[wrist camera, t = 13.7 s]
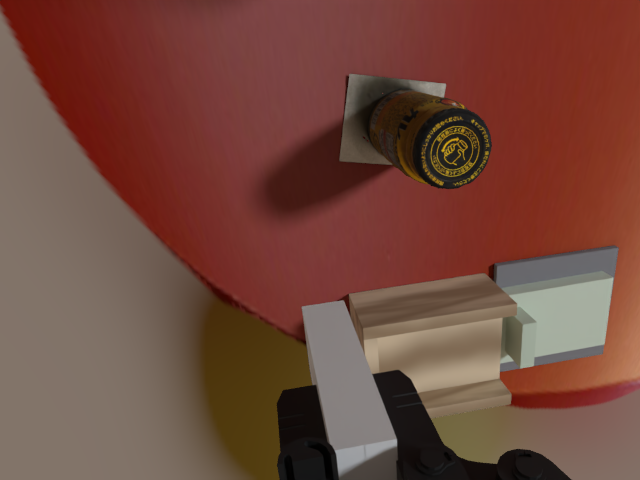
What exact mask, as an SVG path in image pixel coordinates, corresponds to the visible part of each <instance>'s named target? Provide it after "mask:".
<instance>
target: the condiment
mask: <svg viewBox="0 0 640 480" xmlns="http://www.w3.org/2000/svg"><path fill="white" fill-rule="evenodd" d="M445 88H446V84H442V83H433V82H423V81H414V80H404V79H394V78H385V77H375V76H365V75H356V74H350V75H349V84H348V90H347V98H346V106H345V115H344V123H343V133H342V141H341V150H340V159H339V161H344V162H358V163H371V164H387V165H393V166H395V167H396V168H398V169H400V170H401V171H402V172H403V173H404V174H405V175H406V176H409V177H411V178H412V179H414V180H417V181H418V182H421V183H424V184H430V185H431V186H434V187H437V188H442V189H443V188H445V189H454V188H459V187H461V186H463V185H465V184H469V183H471V182H472V181H474V180H475V179H476V178H477V177H478V176H479V174H480V173H481V172H482V171H483V169H484V168H485V166H486V164H487V162H488V158H489V155H490V152H491V146H492V145H491V136H490V133H489V130H488V128H487V126H486V124H485V122H484V121H483V120H482V119H481V118H480V117H479V116H478V115H477V114H475V113H474V112H471V111H469V110H468V109H467V108H466V107H464V106H463V105H462V104H461V103H459V102H457V101H454V100H451V99H448V98H444V94H445ZM382 93H383V94H382ZM363 136H364V137H365V138H366V139H364V138H363ZM367 140H369V142H367Z"/></svg>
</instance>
